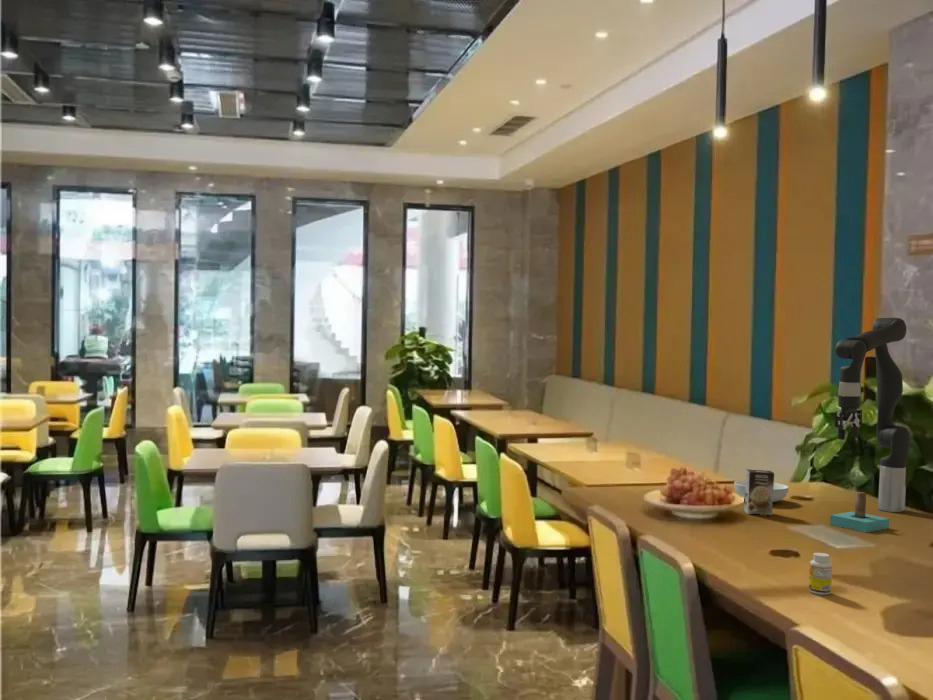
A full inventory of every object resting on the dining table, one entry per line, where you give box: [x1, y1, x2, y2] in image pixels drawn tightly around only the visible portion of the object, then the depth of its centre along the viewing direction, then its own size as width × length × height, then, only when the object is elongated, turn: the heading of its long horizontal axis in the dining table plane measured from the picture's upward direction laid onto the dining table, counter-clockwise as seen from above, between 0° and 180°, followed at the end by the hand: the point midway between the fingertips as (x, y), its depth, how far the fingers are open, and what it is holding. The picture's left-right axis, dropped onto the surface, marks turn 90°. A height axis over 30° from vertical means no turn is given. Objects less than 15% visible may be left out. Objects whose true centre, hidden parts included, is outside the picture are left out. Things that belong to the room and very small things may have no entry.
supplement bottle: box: [808, 552, 833, 596], centre depth 250 cm, size 6×6×10 cm
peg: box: [854, 491, 867, 519], centre depth 336 cm, size 4×4×12 cm
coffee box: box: [743, 468, 775, 516], centre depth 354 cm, size 9×6×16 cm
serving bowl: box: [733, 479, 790, 503], centre depth 379 cm, size 21×21×7 cm
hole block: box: [829, 510, 890, 533], centre depth 336 cm, size 14×14×4 cm
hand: (848, 438), depth 346 cm, fingers open, 8 cm apart
